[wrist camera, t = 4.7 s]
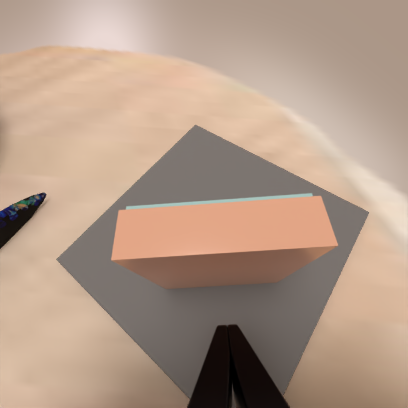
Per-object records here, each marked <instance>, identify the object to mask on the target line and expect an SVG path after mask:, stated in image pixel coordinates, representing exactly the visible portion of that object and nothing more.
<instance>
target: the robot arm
mask: <svg viewBox="0 0 408 408" xmlns="http://www.w3.org/2000/svg"><path fill="white" fill-rule="evenodd" d="M232 386H233V393H234V399H235V404H236V408H290V406H289V405H288V403H287V402H286V400H285V398H284V397H283V395H282V394H281V392H280V391H279V389H278V387H277V386H276V384H275V383H274V381H273V380H272V378H271V376H270V375H269V373H268V372H267V370H266V369H265V367H264V365H263V364H262V362H261V361H260V359H259V358H258V356H257V354H256V353H255V351H254V350H253V348H252V347H251V345H250V343H249V342H248V340H247V339H246V337H245V336H244V334H243V332H242V331H241V329H240V328H239V326H238V325H237V324H229V325H228V326H227V325H218V326H217V327H216V330H215V332H214V335H213V338H212V341H211V343H210V346H209V349H208V351H207V354H206V357H205V360H204V362H203V365H202V368H201V371H200V373H199V376H198V379H197V382H196V384H195V387H194V390H193V393H192V395H191V398H190V401H189V404H188V406H187V408H232V398H233V397H232Z"/></svg>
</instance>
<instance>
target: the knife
mask: <svg viewBox="0 0 408 408" xmlns="http://www.w3.org/2000/svg"><path fill="white" fill-rule="evenodd" d="M46 195H47V194H45V193H40V194H37V195H33V196H30V197H28V198H26V199H23V200H21V201H19V202H17V203H15V204H12V205H10V206H9V207H7V208H5V209H4V210H2V211H0V248H1V247H2V246H3V245H4V244H5V243H6V242H7V241H8V240H9V239H10V238H11V237H12V236H13V235H14V234H15V233H16V232H17V231H18V230H19V229H20V228H21V227H22V226H23V225H24V224H25V223H26V222H27V221H28V220H29V219H30V218H31V216H32V215H33V214H34V213H35V211H36V210H37V209H38V208H39V206H40V205H41V204H42V202H43V201H44V199H45V197H46Z"/></svg>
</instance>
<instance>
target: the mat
mask: <svg viewBox="0 0 408 408" xmlns="http://www.w3.org/2000/svg"><path fill="white" fill-rule="evenodd" d="M307 193H312V195H313V196H321V197H322V200H323V203H324V206H325V209H326V212H327V215H328V217H329V220H330V223H331V226H332V229H333V232H334V235H335V237H336V240H337V243H338V246H337V247H335V248H334V249H332V250H330V251H329V252H327V253H325V254H324V255H322V256H320V257H319V258H317V259H315V260H314V261H312V262H310V263H309V264H307V265H305V266H304V267H302V268H300V269H299V270H297V271H295V272H294V273H292V274H290V275H289V276H287V277H285V278H284V279H282V280H280V281H279V282H277V283H262V284H245V285H228V286H211V287H194V288H177V289H165V288H163V287H161V286H159V285H157V284H155V283H153V282H151V281H149V280H148V279H146V278H144V277H142V276H140V275H138V274H136V273H134V272H132V271H131V270H129V269H127V268H125V267H123V266H121V265H119V264H117V263H115V262H113V261H112V260H111V257H112V250H113V244H114V237H115V231H116V224H117V218H118V211H119V210H126V206H140V205H154V204H168V203H182V202H196V201H210V200H224V199H238V198H252V197H266V196H280V195H294V194H307ZM368 214H369V212H368V211H366V210H364V209H362V208H360V207H358V206H356V205H354V204H352V203H350V202H348V201H346V200H344V199H342V198H340V197H338V196H336V195H334V194H332V193H330V192H328V191H326V190H324V189H322V188H320V187H318V186H316V185H314V184H312V183H310V182H308V181H306V180H304V179H302V178H300V177H298V176H296V175H294V174H292V173H290V172H288V171H286V170H284V169H282V168H280V167H278V166H276V165H274V164H272V163H270V162H268V161H266V160H264V159H262V158H261V157H259V156H257V155H255V154H253V153H251V152H249V151H247V150H245V149H243V148H241V147H239V146H237V145H235V144H233V143H231V142H229V141H227V140H225V139H223V138H221V137H219V136H217V135H215V134H213V133H211V132H209V131H207V130H205V129H203V128H201V127H199V126H197V125H195V126H194V127H193V128H192V129H191V130H189V131H188V132H187V133H186V134H185V135H184V136H183V137H182V138H181V139H180V140H179V141H178V142H177V143H176V144H175V145H174V146H173V147H172V148H171V149H170V150H169V151H168V152H167V153H166V154H165V155H164V156H163V157H162V158H161V159H160V160H159V161H157V162H156V163H155V164H154V165H153V166H152V167H151V168H150V169H149V170H148V171H147V172H146V173H145V174H144V175H143V176H142V177H141V178H140V179H139V180H138V181H137V182H136V183H135V184H134V185H133V186H132V187H131V188H130V189H129V190H128V191H126V192H125V193H124V194H123V195H122V196H121V197H120V198H119V199H118V200H117V201H116V202H115V203H114V204H113V205H112V206H111V207H110V208H109V209H108V210H107V211H106V212H105V213H104V214H103V215H102V216H101V217H100V218H99V219H98V220H97V221H95V222H94V223H93V224H92V225H91V226H90V227H89V228H88V229H87V230H86V231H85V232H84V233H83V234H82V235H81V236H80V237H79V238H78V239H77V240H76V241H75V242H74V243H73V244H72V245H71V246H70V247H69V248H68V249H67V250H66V251H65V252H63V253H62V254H61V255H60V256H59V257H58V258H57V259H56V260H57V261H58V262H59V263H60V264H61V265H62V266H63V267H64V268H65V269H66V270H67V271H68V272H69V273H70V274H71V275H72V276H73V277H74V278H75V279H76V281H77V282H78V283H79V284H80V285H81V286H82V287H83V288H84V289H85V290H86V291H87V292H88V293H89V294H90V295H91V296H92V297H93V298H94V299H95V300H96V301H97V302H98V304H99V305H100V306H101V307H102V308H103V309H104V310H105V311H106V312H107V313H108V314H109V315H110V316H111V317H112V318H113V319H114V320H115V321H116V322H117V323H118V324H119V325H120V326H121V328H122V329H123V330H124V331H125V332H126V333H127V334H128V335H129V336H130V337H131V338H132V339H133V340H134V341H135V342H136V343H137V344H138V345H139V346H140V347H141V348H142V349H143V350H144V352H145V353H146V354H147V355H148V356H149V357H150V358H151V359H152V360H153V361H154V362H155V363H156V364H157V365H158V366H159V367H160V368H161V369H162V370H163V371H164V372H165V373H166V375H167V376H168V377H169V378H170V379H171V380H172V381H173V382H174V383H175V384H176V385H177V386H178V387H179V388H180V389H181V390H182V391H183V392H184V393H185V394H186V395H187V396H188V397H189V399H190V398H191V395H192V393H193V390H194V387H195V384H196V382H197V379H198V376H199V373H200V371H201V368H202V365H203V362H204V360H205V357H206V354H207V351H208V349H209V346H210V343H211V341H212V338H213V335H214V332H215V330H216V327H217V326H218V325H227V326H228V325H229V324H237V325H238V326H239V328H240V329H241V331H242V332H243V334H244V336H245V337H246V339H247V340H248V342H249V343H250V345H251V347H252V348H253V350H254V351H255V353H256V354H257V356H258V358H259V359H260V361H261V362H262V364H263V365H264V367H265V369H266V370H267V372H268V373H269V375H270V376H271V378H272V380H273V381H274V383H275V384H276V386H277V387H278V389H279V391H280V392H281V394H282V395H284V393H285V390H286V388H287V386H288V384H289V382H290V380H291V378H292V376H293V373H294V371H295V369H296V367H297V365H298V363H299V361H300V359H301V356H302V354H303V352H304V350H305V348H306V346H307V344H308V342H309V339H310V337H311V335H312V333H313V331H314V329H315V327H316V325H317V322H318V320H319V318H320V316H321V314H322V312H323V310H324V308H325V305H326V303H327V301H328V299H329V297H330V295H331V293H332V291H333V288H334V286H335V284H336V282H337V280H338V278H339V276H340V274H341V271H342V269H343V267H344V265H345V263H346V261H347V259H348V257H349V254H350V252H351V250H352V248H353V246H354V244H355V242H356V240H357V237H358V235H359V233H360V231H361V229H362V227H363V225H364V223H365V220H366V218H367V216H368ZM232 397H233V398H232V408H236V404H235V399H234V393H233V386H232Z"/></svg>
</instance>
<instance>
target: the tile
mask: <svg viewBox="0 0 408 408" xmlns="http://www.w3.org/2000/svg"><path fill="white" fill-rule="evenodd" d="M337 246H338V243H337V240H336V237H335V235H334V232H333V229H332V226H331V223H330V220H329V217H328V215H327V212H326V209H325V206H324V203H323V200H322V197H321V196H313V195H312V193H307V194H294V195H280V196H266V197H252V198H238V199H224V200H210V201H196V202H182V203H168V204H154V205H140V206H126V210H119V211H118V218H117V224H116V231H115V237H114V244H113V250H112V257H111V260H112V261H113V262H115V263H117V264H119V265H121V266H123V267H125V268H127V269H129V270H131V271H132V272H134V273H136V274H138V275H140V276H142V277H144V278H146V279H148V280H149V281H151V282H153V283H155V284H157V285H159V286H161V287H163V288H165V289H177V288H194V287H211V286H228V285H245V284H262V283H277V282H279V281H280V280H282V279H284V278H285V277H287V276H289V275H290V274H292V273H294V272H295V271H297V270H299V269H300V268H302V267H304V266H305V265H307V264H309V263H310V262H312V261H314V260H315V259H317V258H319V257H320V256H322V255H324V254H325V253H327V252H329V251H330V250H332V249H334V248H335V247H337Z"/></svg>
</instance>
